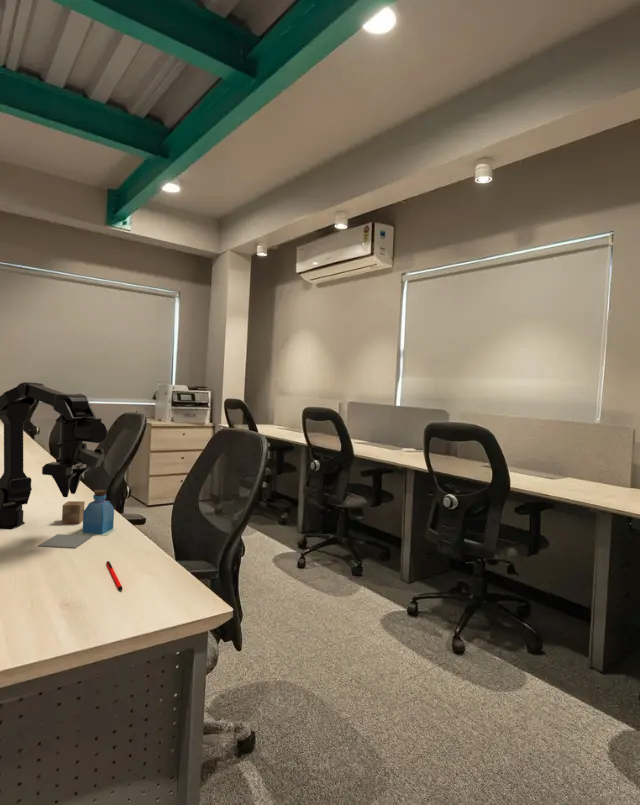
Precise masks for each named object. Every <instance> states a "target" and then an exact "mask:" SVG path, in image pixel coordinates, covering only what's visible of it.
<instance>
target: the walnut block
mask: <svg viewBox="0 0 640 805" xmlns="http://www.w3.org/2000/svg"><path fill="white" fill-rule="evenodd" d="M85 503H86V502H85V501H82V500H81V501H73V500H72V501H69V500H68V501H66V502H65V503H64V504H62V512H61V513H62V515H61V525H80V524H81V523H83V512H84V510H85V505H86V504H85Z"/></svg>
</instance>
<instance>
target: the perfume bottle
mask: <svg viewBox="0 0 640 805" xmlns="http://www.w3.org/2000/svg"><path fill="white" fill-rule="evenodd" d="M93 492H94V494H93V496H92V497H93V501H91V502H88V505H87V506H86V507H85V508H84V512H83V521H82V530H83V533H93V534H104V533H106V532H108V531H110V530H111V529H114V518H115V508H114V506H113V504H112V503H111V502H110V500H106V499H107V494H106V490H105V489H97V490H96V489H95V490H93Z"/></svg>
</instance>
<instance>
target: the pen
mask: <svg viewBox="0 0 640 805" xmlns="http://www.w3.org/2000/svg"><path fill="white" fill-rule="evenodd" d="M105 565H106V566H107V569H108V570H109V573H110V575H111V577H112V580H113V581H114V584H115V585H116V588H117V590H119V591H120V592H122V591H123V586H122V583H121V582H120V580H119V578H118V576H117V574H116V571H115V569H114V567H113V566H112V564H111V562H110V561H109V560H107V561H106V564H105Z"/></svg>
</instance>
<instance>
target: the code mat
mask: <svg viewBox="0 0 640 805" xmlns="http://www.w3.org/2000/svg"><path fill="white" fill-rule="evenodd" d="M114 531H115V529H114V528H113V529H111V530H110V531H108V532H106V533H104V534H93V533H83V529H82V530H80V531H79V532H77V533H76V535H84V536H97V537H98V536H100V537H101V536H102V537H108V536H109V535H110V534H112V533H113V532H114Z"/></svg>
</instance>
